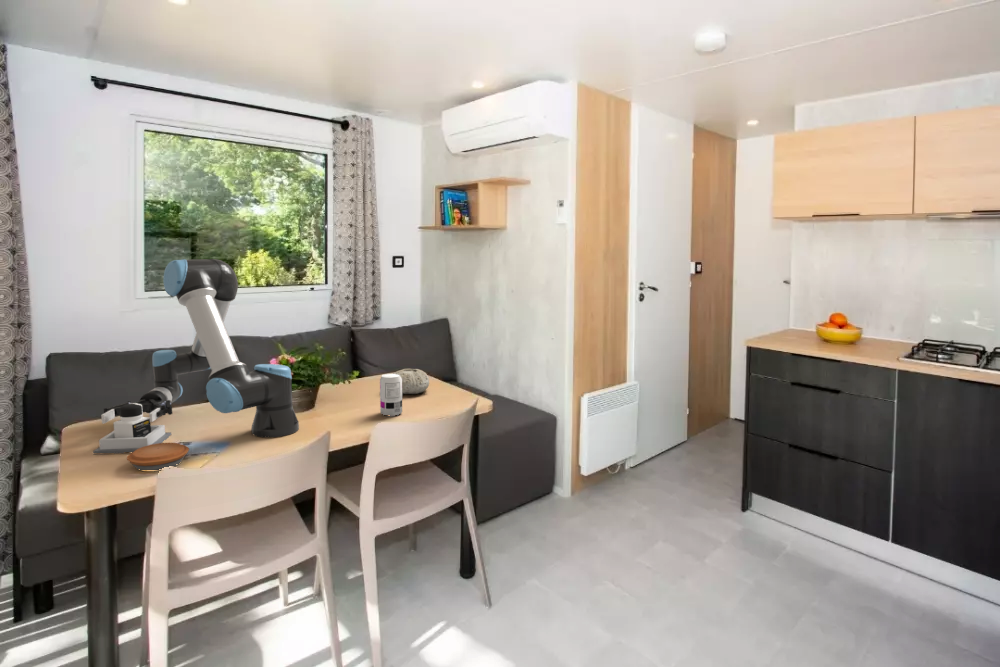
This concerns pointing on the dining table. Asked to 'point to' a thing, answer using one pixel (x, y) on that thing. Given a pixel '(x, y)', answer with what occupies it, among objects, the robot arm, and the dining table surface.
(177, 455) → the pie
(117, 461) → the dining table surface
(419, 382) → the grey squat round piece
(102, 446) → the dock
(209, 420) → the dining table surface
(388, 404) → the supplement can
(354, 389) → the dining table surface
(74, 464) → the dining table surface
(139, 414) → the medicine bottle
